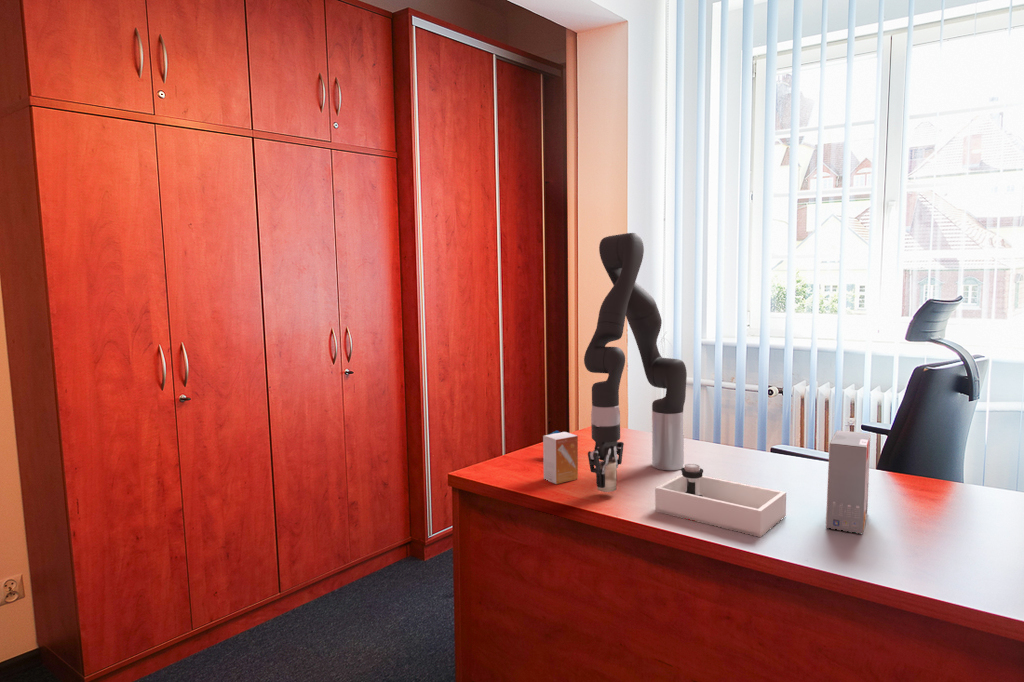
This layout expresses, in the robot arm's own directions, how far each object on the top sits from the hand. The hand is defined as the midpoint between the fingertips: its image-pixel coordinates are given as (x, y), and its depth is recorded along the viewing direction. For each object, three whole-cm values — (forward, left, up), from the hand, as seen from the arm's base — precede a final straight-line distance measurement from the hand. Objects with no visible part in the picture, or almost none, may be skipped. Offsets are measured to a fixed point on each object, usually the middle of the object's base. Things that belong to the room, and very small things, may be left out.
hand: (606, 484), depth 172 cm
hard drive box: (-20, +54, -3) cm, 57 cm away
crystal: (-21, -31, -3) cm, 38 cm away
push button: (-5, +22, -3) cm, 23 cm away
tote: (-6, +29, -3) cm, 30 cm away
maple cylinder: (0, 0, -1) cm, 1 cm away
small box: (-4, -18, -3) cm, 19 cm away
